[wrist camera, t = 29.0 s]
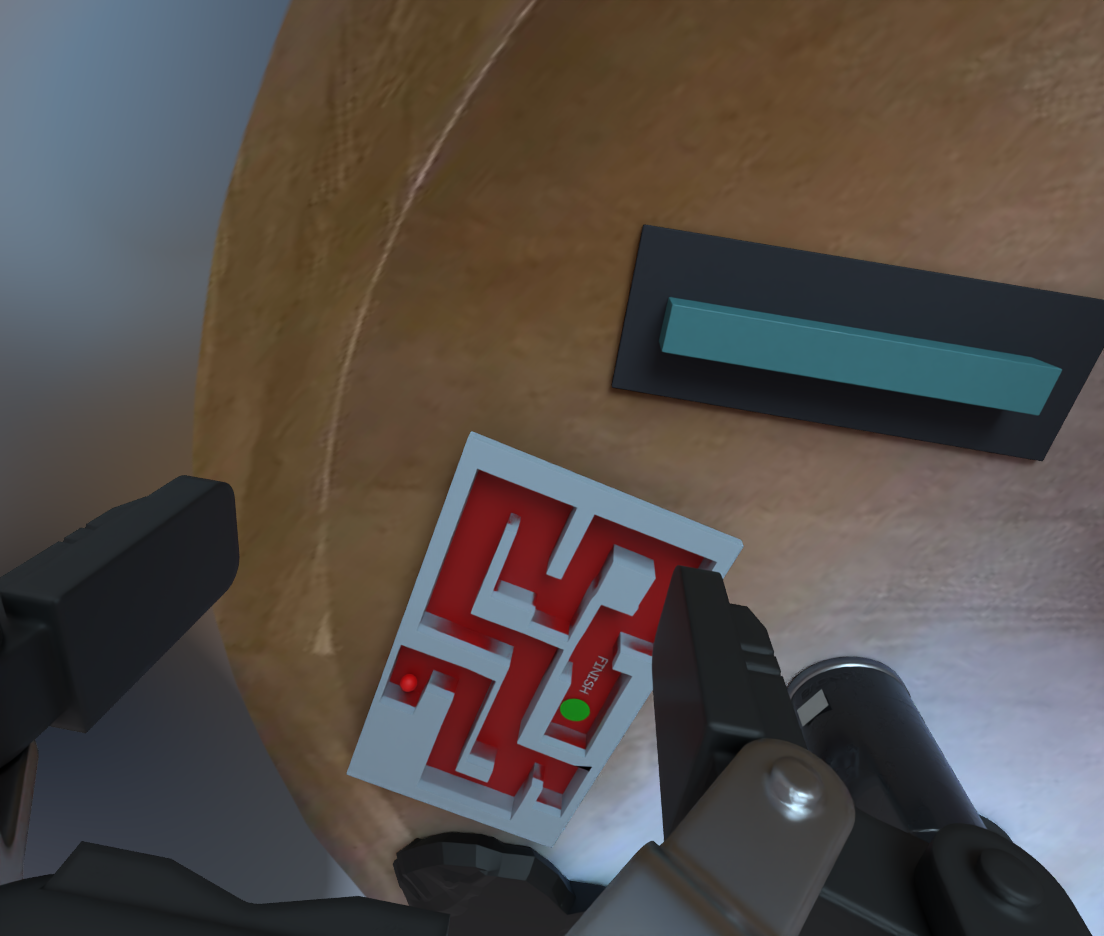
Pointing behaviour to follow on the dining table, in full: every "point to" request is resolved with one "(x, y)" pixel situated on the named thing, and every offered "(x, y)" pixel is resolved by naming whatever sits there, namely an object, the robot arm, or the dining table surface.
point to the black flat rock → (490, 886)
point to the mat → (860, 302)
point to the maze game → (525, 641)
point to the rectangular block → (857, 356)
